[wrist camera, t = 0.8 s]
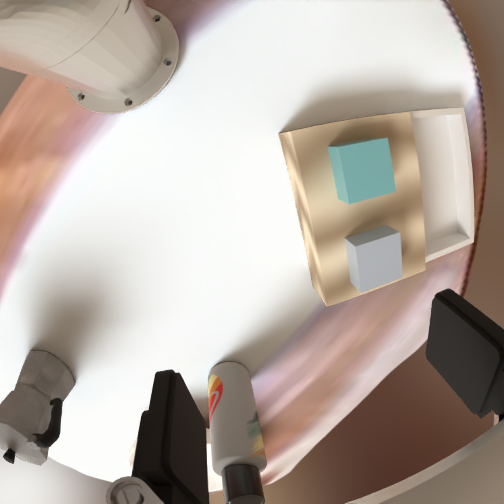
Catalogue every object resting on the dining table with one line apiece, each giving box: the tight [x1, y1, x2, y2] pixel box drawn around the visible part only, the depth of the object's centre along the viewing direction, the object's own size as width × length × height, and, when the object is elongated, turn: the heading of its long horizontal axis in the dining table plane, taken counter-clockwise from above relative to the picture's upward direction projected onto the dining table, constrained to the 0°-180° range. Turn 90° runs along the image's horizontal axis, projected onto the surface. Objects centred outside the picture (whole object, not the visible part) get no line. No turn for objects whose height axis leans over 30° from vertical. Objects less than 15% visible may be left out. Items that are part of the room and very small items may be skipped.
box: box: [390, 108, 474, 262], centre depth 32 cm, size 18×10×4 cm, turn 15°
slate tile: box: [345, 225, 402, 293], centre depth 29 cm, size 5×5×2 cm
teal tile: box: [328, 137, 396, 204], centre depth 25 cm, size 5×5×2 cm
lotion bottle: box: [208, 362, 267, 504], centre depth 30 cm, size 6×6×20 cm
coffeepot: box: [0, 350, 75, 465], centre depth 28 cm, size 15×9×18 cm, turn 112°
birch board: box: [279, 112, 425, 307], centre depth 31 cm, size 18×13×5 cm
